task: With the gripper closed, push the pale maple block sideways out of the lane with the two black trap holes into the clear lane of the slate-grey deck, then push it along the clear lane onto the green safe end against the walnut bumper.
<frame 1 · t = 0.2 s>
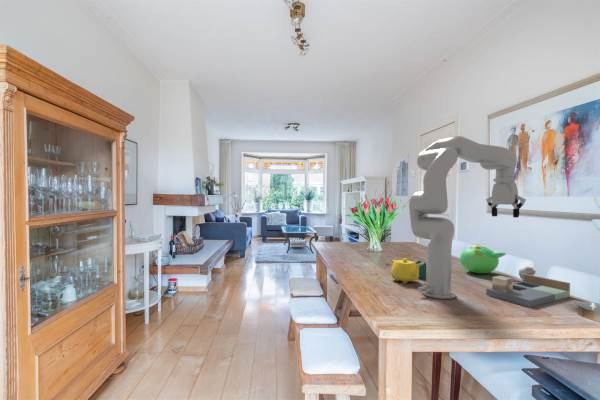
hand: (504, 216, 145), 31 cm above the table, tool pointing down, fingers open, 9 cm apart
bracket: (429, 276, 157), on the table
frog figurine: (526, 281, 147), on the table
green rounded piece: (479, 273, 162), on the table
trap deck: (527, 295, 124), on the table
teapot: (405, 281, 146), on the table
block: (502, 290, 124), point 2 cm above the table, touching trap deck
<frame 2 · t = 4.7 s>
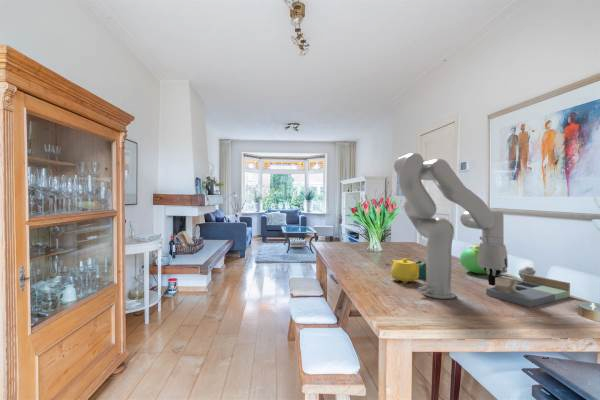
hand: (493, 284, 127), 4 cm above the table, tool pointing down, fingers closed
block: (505, 290, 123), point 3 cm above the table, touching gripper
everything else where it was.
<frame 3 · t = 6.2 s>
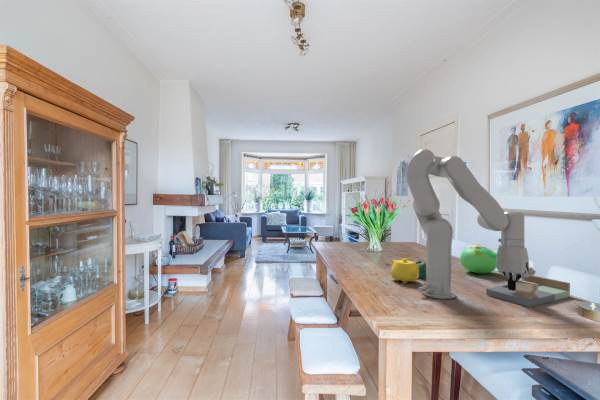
hand: (512, 289, 120), 4 cm above the table, tool pointing down, fingers closed
block: (526, 296, 116), point 3 cm above the table, touching gripper
everything else where it was.
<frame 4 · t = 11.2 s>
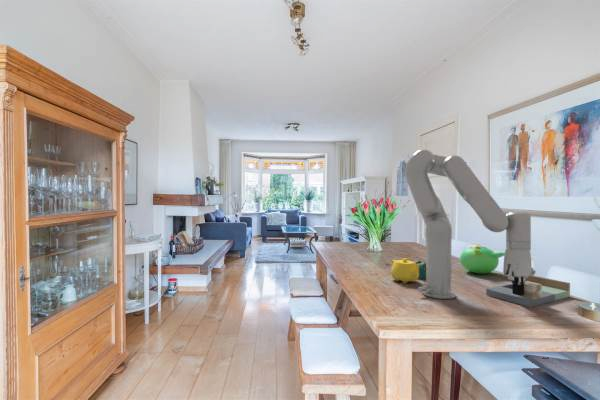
hand: (518, 294, 115), 4 cm above the table, tool pointing down, fingers closed
block: (530, 296, 115), point 3 cm above the table, touching gripper, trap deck
everything else where it was.
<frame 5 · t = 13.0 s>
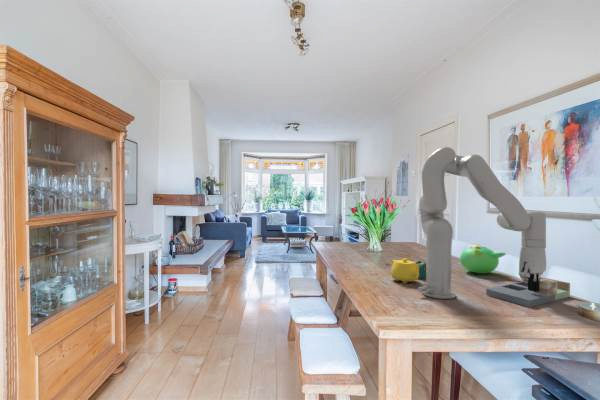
hand: (533, 290, 119), 4 cm above the table, tool pointing down, fingers closed
block: (545, 293, 119), point 3 cm above the table, touching gripper, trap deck
everything else where it was.
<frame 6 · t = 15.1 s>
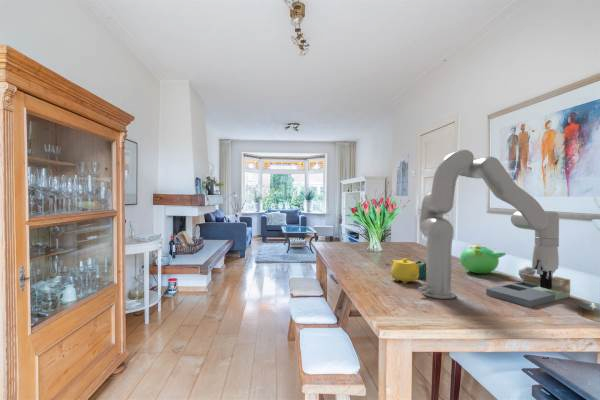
hand: (545, 287, 123), 4 cm above the table, tool pointing down, fingers closed
block: (558, 290, 123), point 2 cm above the table, touching gripper, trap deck
everything else where it was.
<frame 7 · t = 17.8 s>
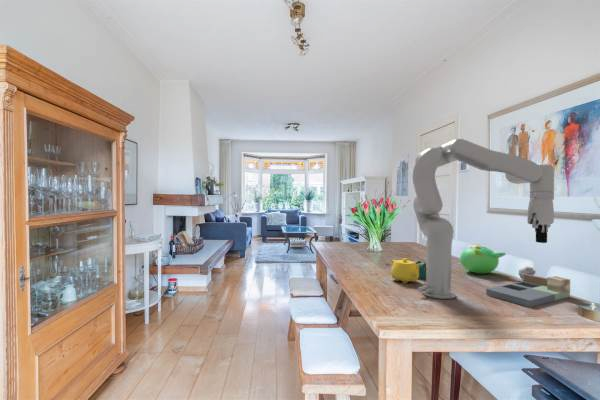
hand: (541, 242, 122), 22 cm above the table, tool pointing down, fingers closed
block: (558, 290, 123), point 2 cm above the table, touching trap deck
everything else where it was.
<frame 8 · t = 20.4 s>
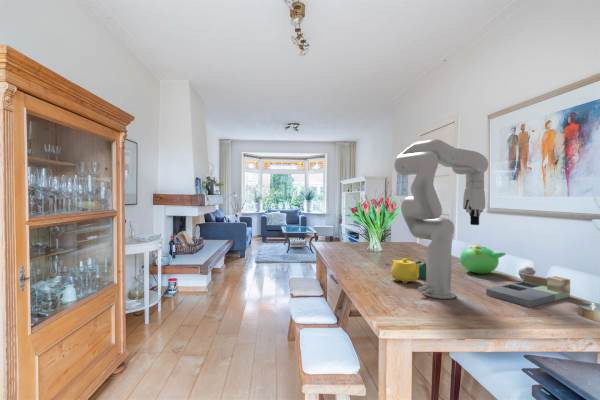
hand: (474, 224, 144), 27 cm above the table, tool pointing down, fingers closed
nothing on the table moved.
at the end: block inside the target area on the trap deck (2.1 cm from its centre), point 2.5 cm above the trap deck's base; block tilted 0° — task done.
